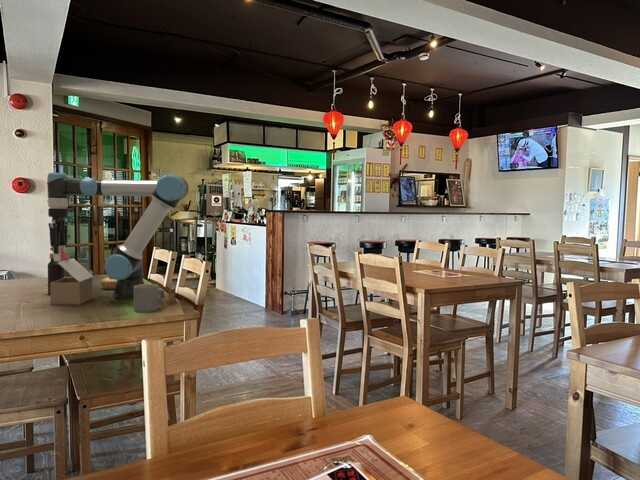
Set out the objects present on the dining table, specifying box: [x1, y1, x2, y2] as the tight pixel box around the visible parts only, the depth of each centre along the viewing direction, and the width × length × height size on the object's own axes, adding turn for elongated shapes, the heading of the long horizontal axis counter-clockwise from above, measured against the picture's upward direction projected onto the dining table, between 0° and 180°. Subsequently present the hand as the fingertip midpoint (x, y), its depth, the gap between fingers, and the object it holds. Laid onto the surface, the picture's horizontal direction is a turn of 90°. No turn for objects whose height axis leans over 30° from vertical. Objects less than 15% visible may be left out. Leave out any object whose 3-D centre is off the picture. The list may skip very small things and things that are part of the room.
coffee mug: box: [133, 283, 166, 313], centre depth 191 cm, size 13×10×10 cm
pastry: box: [100, 276, 117, 291], centre depth 238 cm, size 12×12×9 cm
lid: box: [49, 246, 94, 282], centre depth 202 cm, size 20×14×2 cm
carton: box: [50, 277, 93, 306], centre depth 203 cm, size 12×14×10 cm
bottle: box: [47, 252, 65, 296], centre depth 219 cm, size 7×7×20 cm
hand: (59, 260), depth 201 cm, fingers open, 3 cm apart
